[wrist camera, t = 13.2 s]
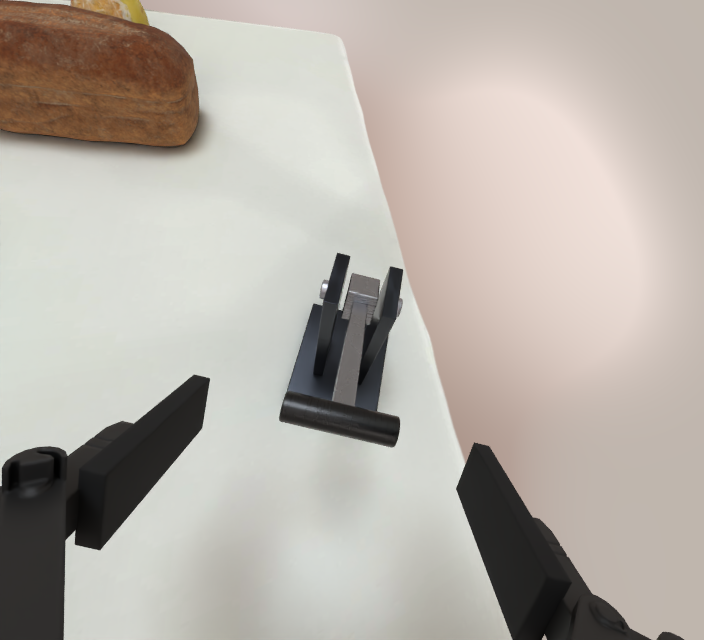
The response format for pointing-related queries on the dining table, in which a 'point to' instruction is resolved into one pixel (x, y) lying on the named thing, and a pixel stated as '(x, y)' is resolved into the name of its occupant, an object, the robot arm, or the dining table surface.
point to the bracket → (329, 334)
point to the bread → (93, 77)
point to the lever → (346, 381)
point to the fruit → (115, 9)
